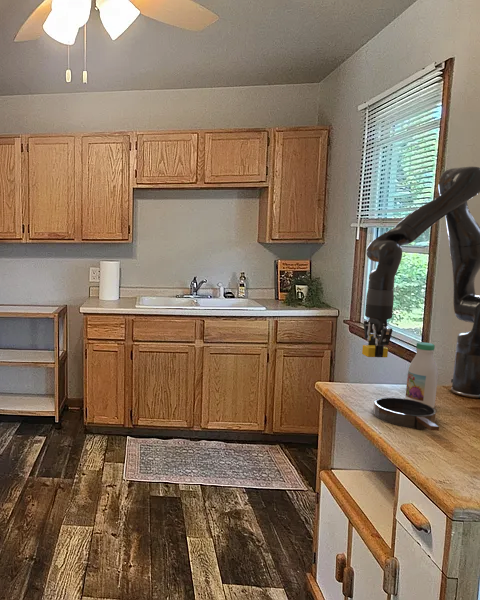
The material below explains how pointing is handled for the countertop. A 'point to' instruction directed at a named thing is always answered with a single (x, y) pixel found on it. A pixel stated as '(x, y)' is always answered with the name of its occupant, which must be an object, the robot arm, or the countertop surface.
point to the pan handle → (425, 424)
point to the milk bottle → (422, 375)
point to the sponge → (372, 351)
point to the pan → (402, 411)
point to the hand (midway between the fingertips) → (374, 354)
